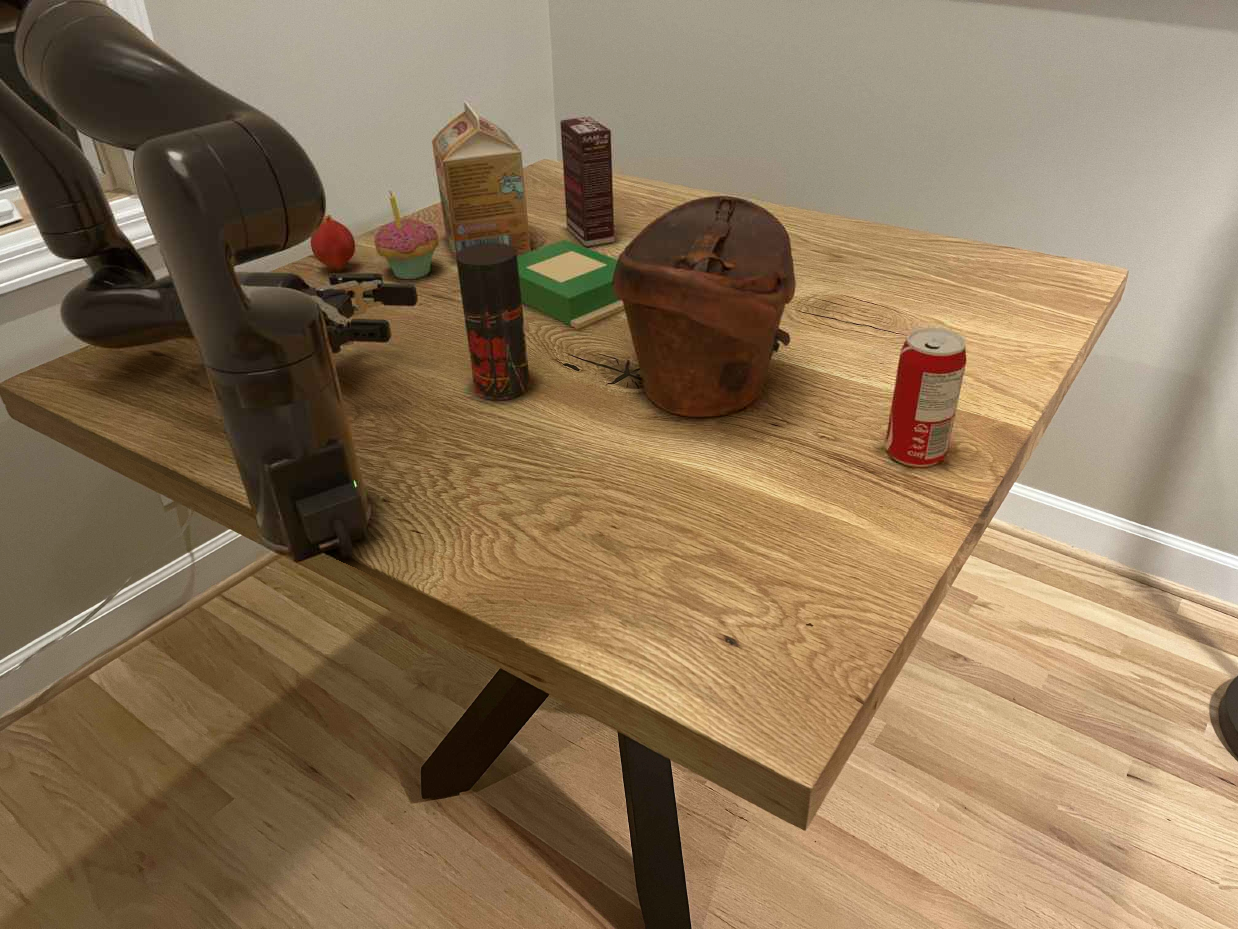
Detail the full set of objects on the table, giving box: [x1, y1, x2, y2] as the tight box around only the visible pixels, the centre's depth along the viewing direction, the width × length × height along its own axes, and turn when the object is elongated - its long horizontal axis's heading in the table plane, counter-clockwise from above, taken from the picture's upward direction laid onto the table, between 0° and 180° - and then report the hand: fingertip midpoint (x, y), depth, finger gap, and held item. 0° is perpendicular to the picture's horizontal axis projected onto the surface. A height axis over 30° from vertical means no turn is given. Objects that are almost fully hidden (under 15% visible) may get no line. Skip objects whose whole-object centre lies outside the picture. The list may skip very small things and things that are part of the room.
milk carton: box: [431, 100, 532, 260], centre depth 126 cm, size 11×10×19 cm
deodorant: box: [455, 242, 531, 402], centre depth 93 cm, size 6×6×15 cm
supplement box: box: [559, 116, 615, 247], centre depth 129 cm, size 9×5×16 cm, turn 22°
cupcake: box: [373, 190, 440, 280], centre depth 121 cm, size 9×8×12 cm
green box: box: [517, 239, 625, 330], centre depth 116 cm, size 18×12×4 cm
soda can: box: [884, 326, 967, 468], centre depth 81 cm, size 6×6×12 cm
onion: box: [310, 213, 356, 272], centre depth 123 cm, size 6×6×8 cm
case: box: [612, 195, 797, 418], centre depth 90 cm, size 18×20×18 cm
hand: (403, 312), depth 93 cm, fingers open, 8 cm apart
